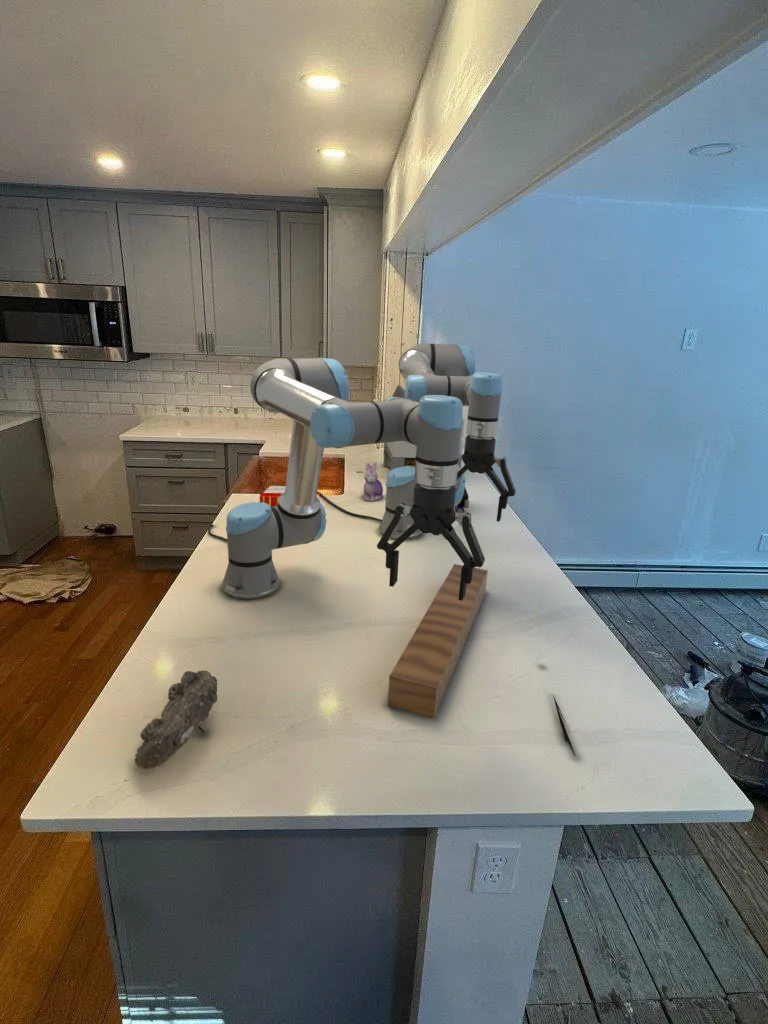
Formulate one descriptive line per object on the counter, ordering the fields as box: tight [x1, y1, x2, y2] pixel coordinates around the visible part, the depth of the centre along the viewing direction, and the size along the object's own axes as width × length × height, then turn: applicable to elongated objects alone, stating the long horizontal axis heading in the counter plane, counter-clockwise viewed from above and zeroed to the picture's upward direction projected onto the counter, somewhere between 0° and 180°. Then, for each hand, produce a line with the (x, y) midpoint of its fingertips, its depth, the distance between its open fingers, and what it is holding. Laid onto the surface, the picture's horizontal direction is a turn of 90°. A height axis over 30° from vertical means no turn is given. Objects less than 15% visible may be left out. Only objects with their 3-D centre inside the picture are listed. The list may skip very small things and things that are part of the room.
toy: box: [259, 485, 286, 507], centre depth 208 cm, size 12×13×30 cm
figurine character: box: [454, 487, 470, 513], centre depth 227 cm, size 7×8×15 cm
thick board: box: [387, 563, 489, 719], centre depth 136 cm, size 57×10×7 cm, turn 160°
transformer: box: [383, 384, 465, 471], centre depth 268 cm, size 34×33×41 cm
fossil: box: [134, 669, 218, 770], centre depth 103 cm, size 22×10×15 cm
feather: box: [552, 695, 579, 756], centre depth 115 cm, size 2×28×2 cm
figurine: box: [362, 461, 384, 502], centre depth 233 cm, size 9×10×15 cm
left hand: (426, 590), depth 108 cm, fingers open, 13 cm apart
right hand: (472, 516), depth 149 cm, fingers open, 13 cm apart
